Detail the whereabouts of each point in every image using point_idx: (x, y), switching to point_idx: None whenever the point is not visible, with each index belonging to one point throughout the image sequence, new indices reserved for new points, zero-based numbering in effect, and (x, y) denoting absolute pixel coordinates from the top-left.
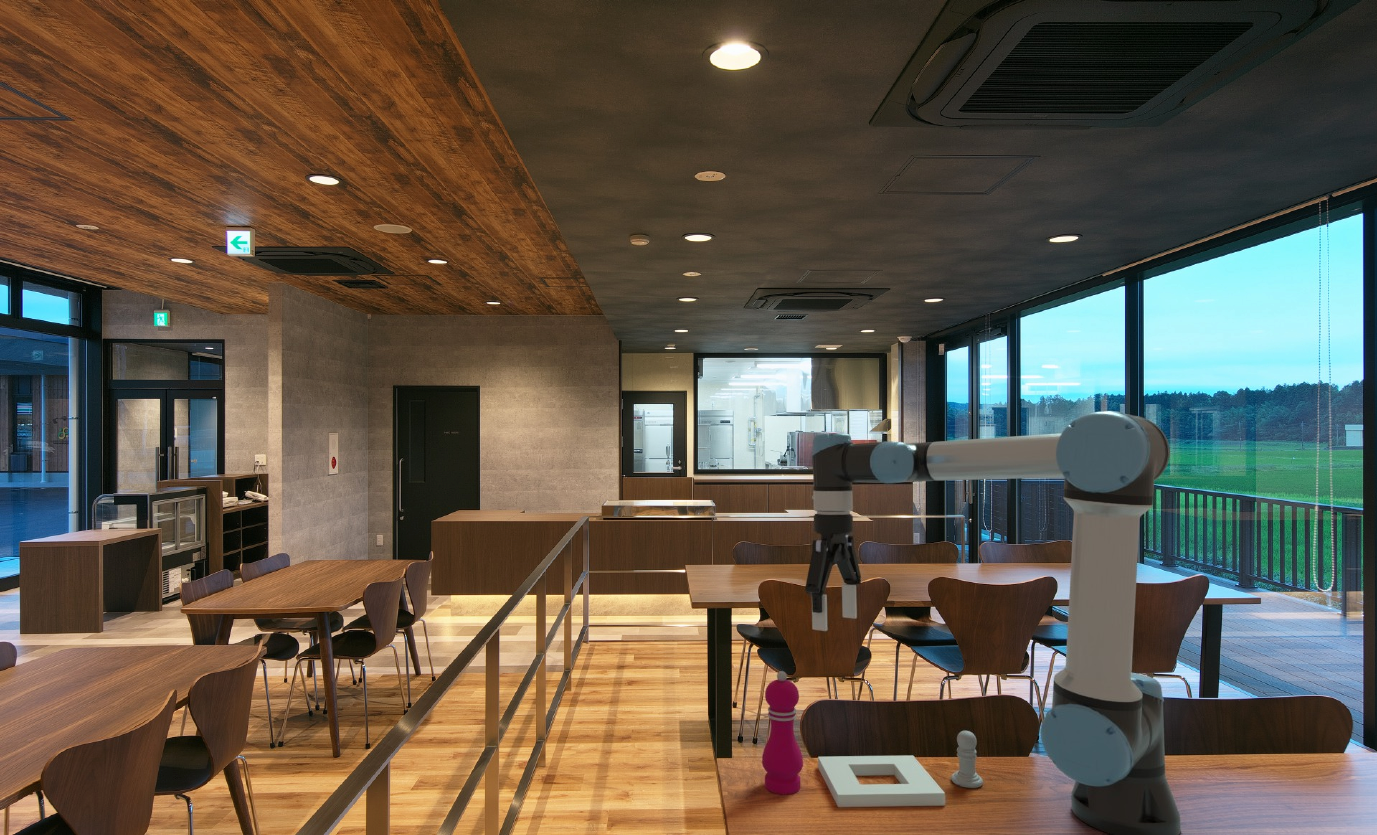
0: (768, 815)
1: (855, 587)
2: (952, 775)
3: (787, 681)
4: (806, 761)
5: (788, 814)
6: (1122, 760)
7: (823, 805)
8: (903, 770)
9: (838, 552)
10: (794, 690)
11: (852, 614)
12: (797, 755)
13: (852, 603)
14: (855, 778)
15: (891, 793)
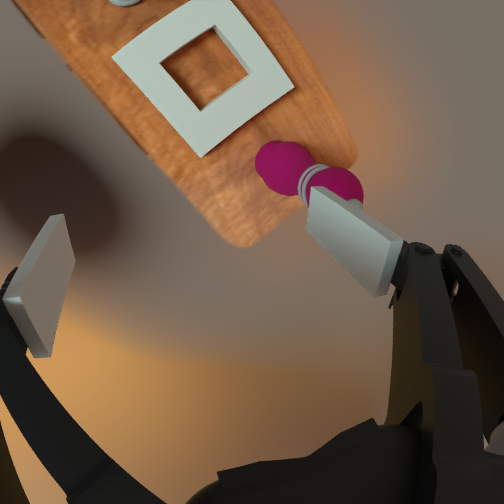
0: (337, 142)
1: (13, 289)
2: (132, 1)
3: (347, 195)
4: (188, 178)
5: (327, 126)
6: None
7: (292, 102)
8: (174, 44)
9: (455, 463)
10: (347, 175)
11: (62, 230)
12: (299, 147)
13: (49, 253)
14: (239, 85)
15: (256, 34)
